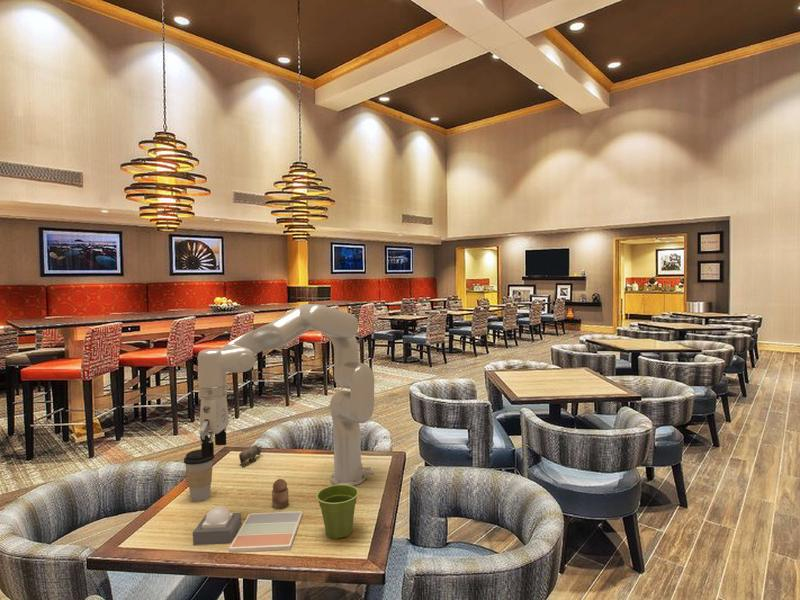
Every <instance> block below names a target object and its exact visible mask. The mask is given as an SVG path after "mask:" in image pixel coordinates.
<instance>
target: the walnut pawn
mask: <svg viewBox="0 0 800 600" xmlns="http://www.w3.org/2000/svg"><path fill="white" fill-rule="evenodd" d="M271 495H272V496H271V498H272V499H271V501H272V503H271V505H272V509H274V510H284V509H286V508H288V507H289V505H290V501H289V499H290V498H289V487H288V483H287V481H286V480H285V479H283V478H279V479H276V480H275V481H274V482H273V484H272V490H271Z"/></svg>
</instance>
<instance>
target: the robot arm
mask: <svg viewBox="0 0 800 600" xmlns="http://www.w3.org/2000/svg"><path fill="white" fill-rule="evenodd" d="M359 325H360V323H359V321H358V318H357V317H356V316H355V315H353V314H352V313H349V312H346V311H343V310H339V309H336V308H334V307H333V308H332V307H329V306H327V305H324V304H317V303H313V304H312V303H303V304H301V305H298V306H297V307H295V308H293V309H292V310H290V311H288V312H287V313H285V314H283V315H282V316H280V317H278V318H276V319H275V320H272V321H271V322H269V323H267V324H264V325H263V326H260V327H258V328H256V329H252V330H251V331H248V332H246V333H244V334H242V335H240V336H239V337H236V338H235V339H233V340H231V341H230V342H228V343H226V344H225V345H224V346H223V347H222V348H206V349H202V350H200V351H199V352H198V354H197V359H198V360H197V364H198V368H197V369H198V372H197V373H198V374H197V375H198V399H200V406H199V407H200V409H199V412H200V413H199V427H200V429H199V438H200V443H201V447H200V449H202V457H213V456H214V457H215V452H214V451H215V449H214V448H215V447H214V446H226V445H227V427H228V425H229V423H230V422H229V407H228V399H227V396H228V393H227V392H228V387H227V385H228V383H227V381H228V380H227V379H228V378H227V373H245V372H248V371H250V370H252V368H253V367H254V366H255V364H256V360H257V359H256V354H259V353H261V352H264V351H268V350H274V349H279V348H282V347H285V346H286V345H288V344H289V343H291V342H293V341H295V340H296V339H297V338H299V337H300V336H302V335H303V334H306V333H307V332H308V331H317V332H321V333H323V334H324V335H325V336H326V337H328V339H329V340H330V341H331V343H332V345H333V353H334V354H333V356H334V358H333V361H334V365H333V367H334V368H333V369H334V370H333V377H334V383H336V384H337V385H338V386H339V387H341V388H345V389H349V390H340V391H337V392H335V393H333V395H332V397H331V399H330V402H329V411H330V415H331V416H330V417H331V421H332V430H333V431H332V433H333V461H334V463H333V465H334V467H333V468H334V472H333V474H331V475H330V479H329V481H330V483H331V484H332V485H338V484H346V485H351V486H354V487H355V486H357V485H360V484H362V483H364V482H365V481H366V480H367V479H366V478H367V476H368V475H369V476H373V475H375V469H374V468H372V467H371V466H367V467H365V466H363V463H362V452H361V451H362V450H361V449H362V448H361V444H362V443H361V442H362V441H361V425H360V424H364V423H367V422H368V421H369V420H370V419H371V417H372V416H373V413H374V409H375V376H374V372H373V370H372V368H371V367H370V365H367V364H366V363H364V362H360V360H359V343H358V340H357V338H356V336H355V335H356V334H357V333H358V331H359ZM213 439H214V441H213ZM214 444H215V445H214Z"/></svg>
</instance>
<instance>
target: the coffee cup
mask: <svg viewBox="0 0 800 600" xmlns="http://www.w3.org/2000/svg"><path fill="white" fill-rule="evenodd" d="M214 459H215V455H214V456H213V457H202V449H201V448H200V449H195V450H191V451H189V452H187V453H186V454H185V457H184V458H183V464H185V474H186V479H187V487H188V489H189V496H190V501H191V502H193V503H198V502H205V501H206V500H208V499H210V497H211V491H212V490H211V489H212V483H213V482H212V480H213V460H214Z"/></svg>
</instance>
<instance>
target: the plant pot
mask: <svg viewBox="0 0 800 600" xmlns="http://www.w3.org/2000/svg"><path fill="white" fill-rule="evenodd" d="M359 492H360V491H359V488H357V487H356V486H355V485H354V486H351V485H346V484H338V485H334V484H332V485H329V486H326V487H325V486H324V488H321V489H319V490H318V492H317V493H316V494H315V499H316V500H317V501H318V504H319V507H320V510H321V511H320V512H321V515H322V520H323V525H324V529H325V533H326V535H327V537H329V538H330V539H334V540H336V539H337V540H338V539H339V540H340V538H346V537H348V536H350V535H351V534H352V532H353V525H354V517H355V509H356V507H355V506H356V503H357V497H359V494H360V493H359Z"/></svg>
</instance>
